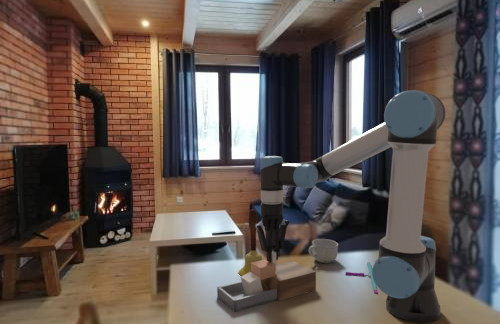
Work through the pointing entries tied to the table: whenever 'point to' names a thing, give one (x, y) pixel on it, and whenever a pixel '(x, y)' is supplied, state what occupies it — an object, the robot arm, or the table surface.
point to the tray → (243, 296)
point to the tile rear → (263, 269)
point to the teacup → (324, 250)
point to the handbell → (253, 254)
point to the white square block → (251, 284)
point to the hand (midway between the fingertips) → (272, 270)
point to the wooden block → (290, 280)
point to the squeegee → (366, 275)
